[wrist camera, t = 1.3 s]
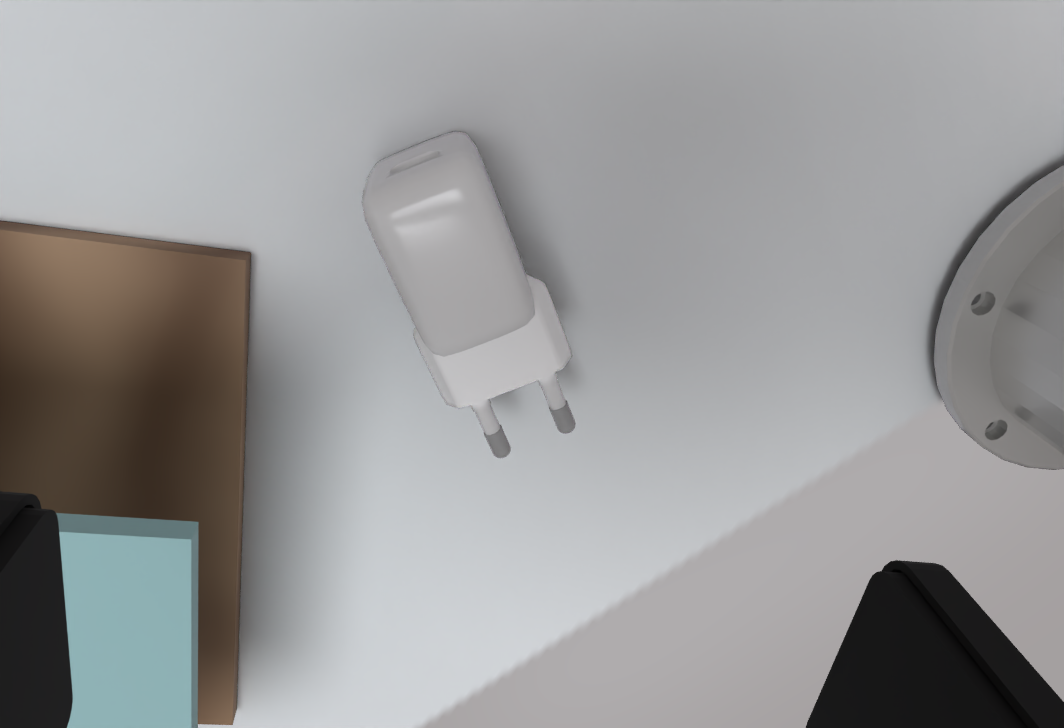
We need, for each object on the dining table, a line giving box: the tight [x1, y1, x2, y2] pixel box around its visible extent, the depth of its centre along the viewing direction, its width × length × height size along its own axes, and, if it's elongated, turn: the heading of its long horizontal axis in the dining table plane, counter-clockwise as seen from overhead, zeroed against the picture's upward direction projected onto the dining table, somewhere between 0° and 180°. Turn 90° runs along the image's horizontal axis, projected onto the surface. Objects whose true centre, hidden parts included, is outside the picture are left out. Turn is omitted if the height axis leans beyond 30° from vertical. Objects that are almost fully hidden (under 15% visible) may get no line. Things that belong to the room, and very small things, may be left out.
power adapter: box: [362, 131, 575, 458], centre depth 24 cm, size 10×4×5 cm, turn 20°
